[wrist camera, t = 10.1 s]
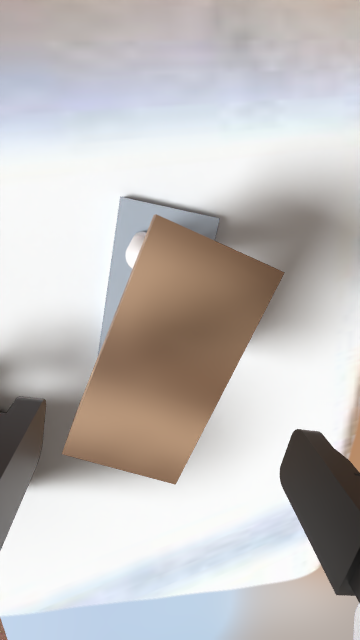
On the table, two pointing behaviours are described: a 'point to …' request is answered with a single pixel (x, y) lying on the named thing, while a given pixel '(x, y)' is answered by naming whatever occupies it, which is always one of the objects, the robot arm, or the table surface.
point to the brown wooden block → (169, 351)
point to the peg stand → (130, 239)
